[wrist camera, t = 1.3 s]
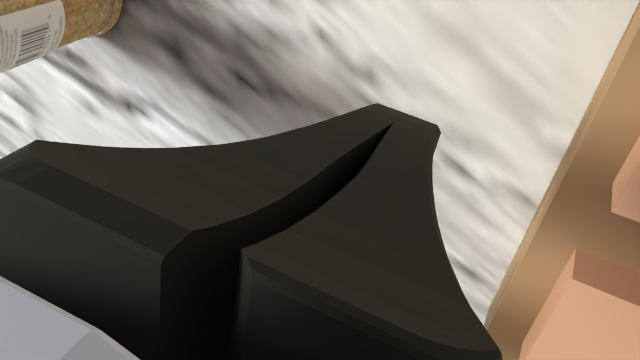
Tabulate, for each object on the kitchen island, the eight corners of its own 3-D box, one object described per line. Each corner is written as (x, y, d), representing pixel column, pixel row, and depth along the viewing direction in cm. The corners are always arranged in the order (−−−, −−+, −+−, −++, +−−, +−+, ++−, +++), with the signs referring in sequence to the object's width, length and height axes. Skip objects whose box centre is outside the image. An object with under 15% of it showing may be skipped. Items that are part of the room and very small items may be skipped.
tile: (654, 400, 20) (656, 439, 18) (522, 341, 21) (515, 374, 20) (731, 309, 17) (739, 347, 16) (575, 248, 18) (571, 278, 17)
